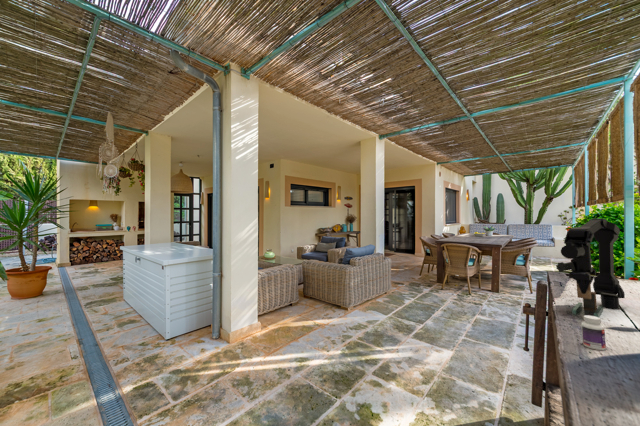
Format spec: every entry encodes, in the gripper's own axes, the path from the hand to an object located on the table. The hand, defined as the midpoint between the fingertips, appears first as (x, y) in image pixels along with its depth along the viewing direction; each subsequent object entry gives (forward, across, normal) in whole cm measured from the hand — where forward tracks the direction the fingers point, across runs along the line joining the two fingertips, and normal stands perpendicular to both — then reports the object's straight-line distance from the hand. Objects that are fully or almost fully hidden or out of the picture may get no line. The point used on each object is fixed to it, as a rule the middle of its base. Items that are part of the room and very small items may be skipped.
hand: (584, 292), depth 115 cm
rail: (+10, -6, 0) cm, 12 cm away
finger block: (+2, 0, 0) cm, 2 cm away
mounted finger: (+10, -11, 0) cm, 15 cm away
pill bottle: (+11, +35, +6) cm, 37 cm away
